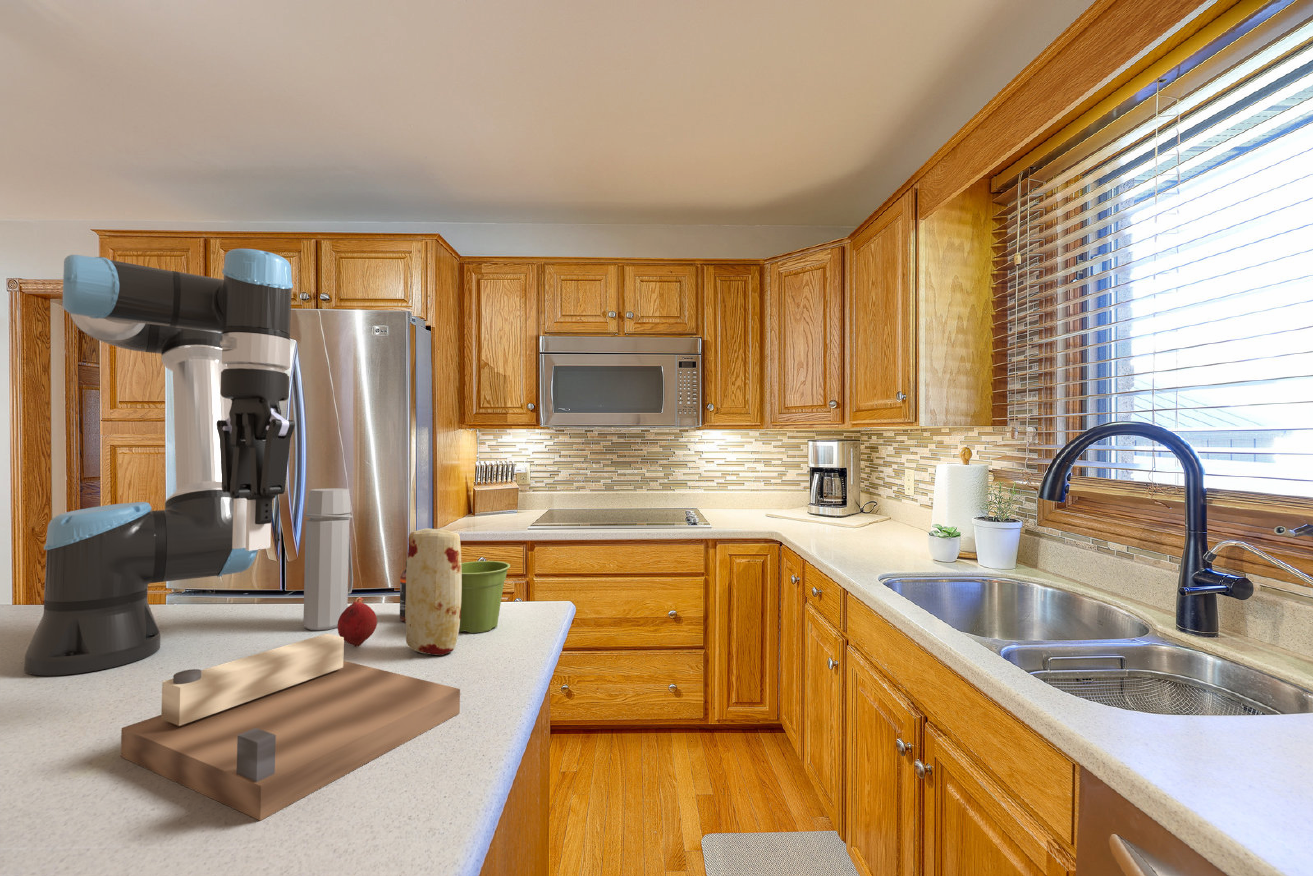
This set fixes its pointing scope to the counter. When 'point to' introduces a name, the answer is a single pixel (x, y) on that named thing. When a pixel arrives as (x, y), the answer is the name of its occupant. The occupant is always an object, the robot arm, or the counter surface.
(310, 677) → the folding leg
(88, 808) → the counter surface
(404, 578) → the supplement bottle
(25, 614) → the counter surface
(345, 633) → the onion
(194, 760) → the brown flat square block
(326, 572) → the water bottle
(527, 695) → the counter surface
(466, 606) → the plant pot
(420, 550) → the food model
